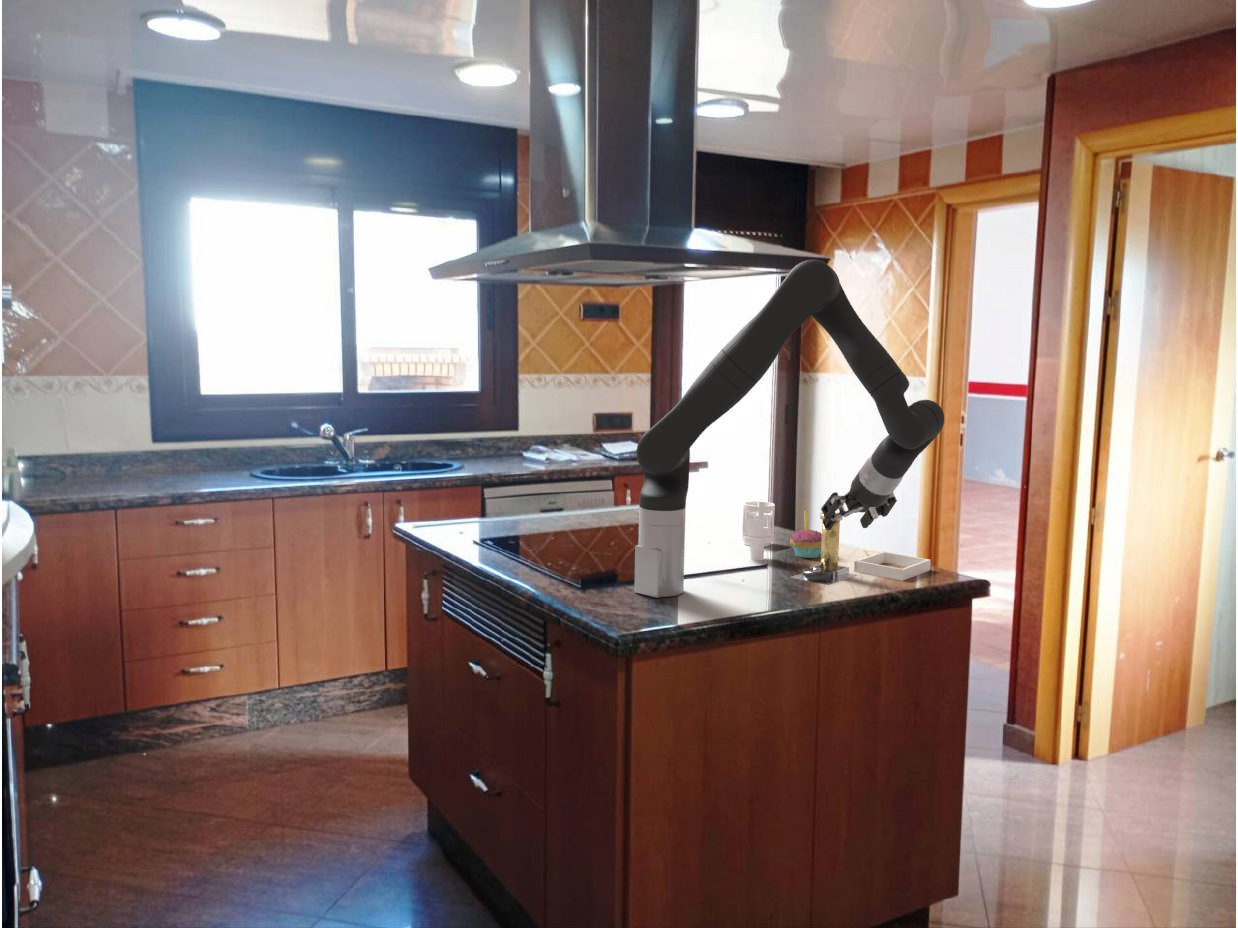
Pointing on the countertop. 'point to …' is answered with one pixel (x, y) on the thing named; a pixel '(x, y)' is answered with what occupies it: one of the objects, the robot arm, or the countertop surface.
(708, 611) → the countertop surface
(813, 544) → the cupcake
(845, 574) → the tensioner plate
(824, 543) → the gold mushroom peg
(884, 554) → the tray
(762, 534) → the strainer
